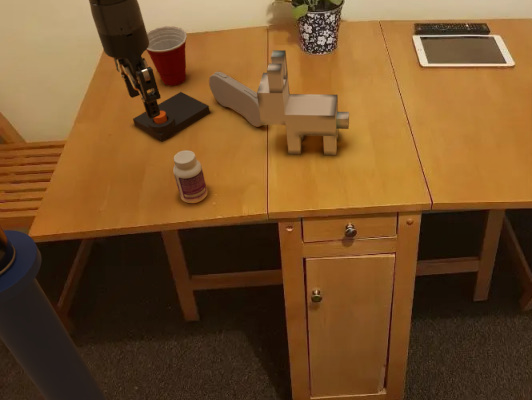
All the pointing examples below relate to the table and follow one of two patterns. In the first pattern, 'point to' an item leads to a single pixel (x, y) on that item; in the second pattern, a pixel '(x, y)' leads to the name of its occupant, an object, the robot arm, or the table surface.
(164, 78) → the plastic cup
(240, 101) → the game controller
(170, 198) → the table surface
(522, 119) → the table surface
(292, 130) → the toy llama
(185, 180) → the pill bottle
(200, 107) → the scale
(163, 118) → the button
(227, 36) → the table surface
